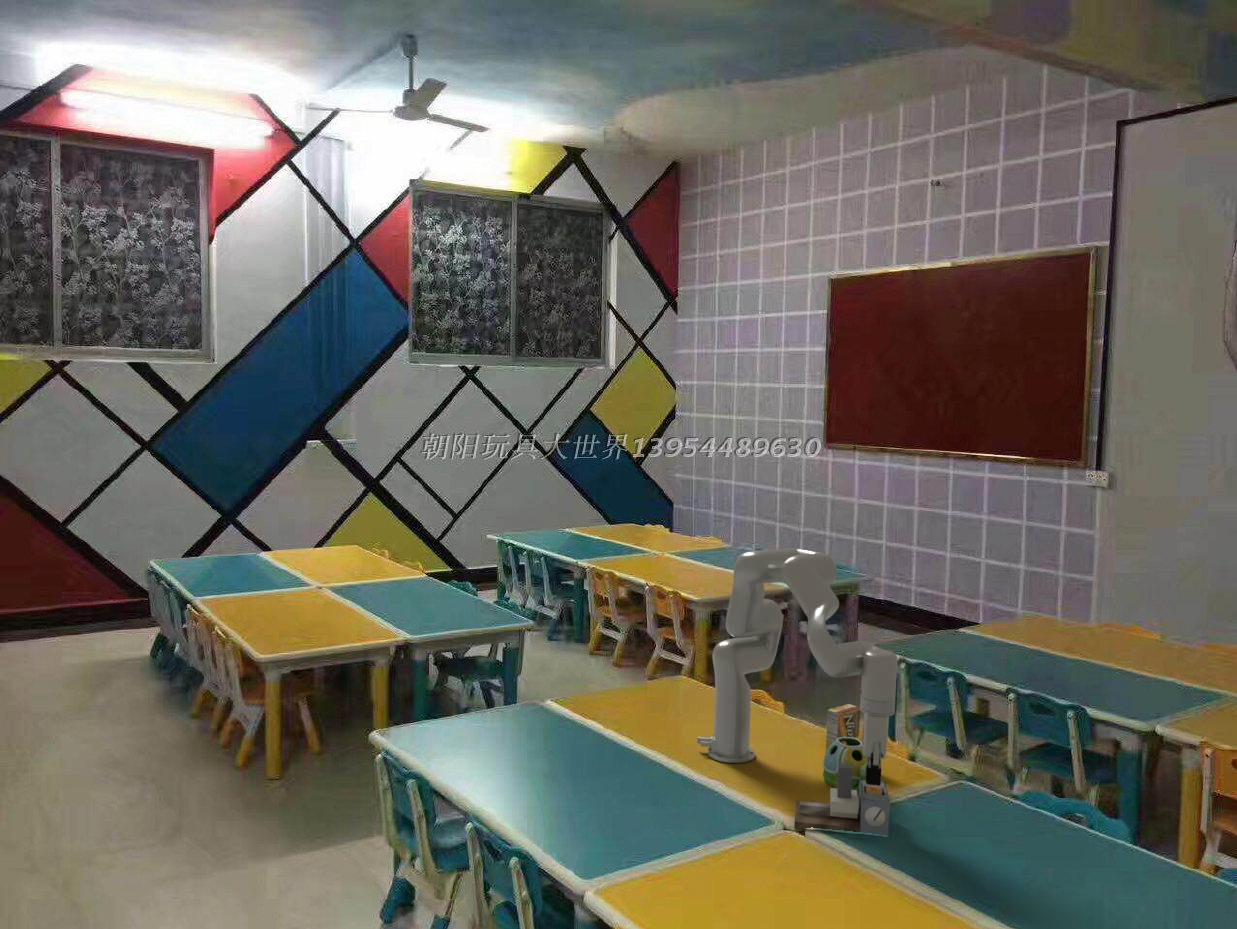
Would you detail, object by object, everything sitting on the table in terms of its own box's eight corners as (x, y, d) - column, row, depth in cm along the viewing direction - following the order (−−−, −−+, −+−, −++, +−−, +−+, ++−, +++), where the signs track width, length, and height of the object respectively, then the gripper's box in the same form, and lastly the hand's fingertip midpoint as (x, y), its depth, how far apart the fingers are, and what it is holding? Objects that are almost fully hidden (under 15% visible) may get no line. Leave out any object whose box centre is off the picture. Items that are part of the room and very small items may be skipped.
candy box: (845, 759, 278) (848, 703, 277) (858, 764, 275) (861, 707, 274) (824, 766, 272) (826, 709, 271) (837, 771, 269) (839, 713, 268)
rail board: (794, 827, 233) (794, 812, 233) (795, 806, 245) (795, 792, 245) (860, 834, 231) (861, 819, 231) (858, 813, 243) (858, 798, 242)
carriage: (830, 818, 234) (832, 770, 233) (829, 804, 242) (831, 758, 241) (857, 821, 233) (859, 773, 232) (856, 807, 241) (858, 760, 240)
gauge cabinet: (860, 835, 230) (862, 800, 230) (858, 813, 243) (859, 779, 242) (888, 838, 229) (889, 803, 229) (884, 815, 241) (886, 782, 241)
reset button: (865, 808, 234) (866, 790, 234) (865, 801, 238) (865, 784, 238) (882, 809, 234) (883, 792, 233) (881, 803, 237) (881, 786, 237)
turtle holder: (846, 808, 245) (848, 758, 244) (813, 779, 263) (815, 733, 262) (893, 804, 248) (895, 755, 248) (858, 776, 266) (860, 730, 265)
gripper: (859, 693, 242) (854, 769, 244) (862, 713, 227) (857, 794, 229) (892, 696, 241) (887, 773, 242) (897, 717, 226) (892, 798, 228)
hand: (873, 783), depth 236 cm, fingers closed
